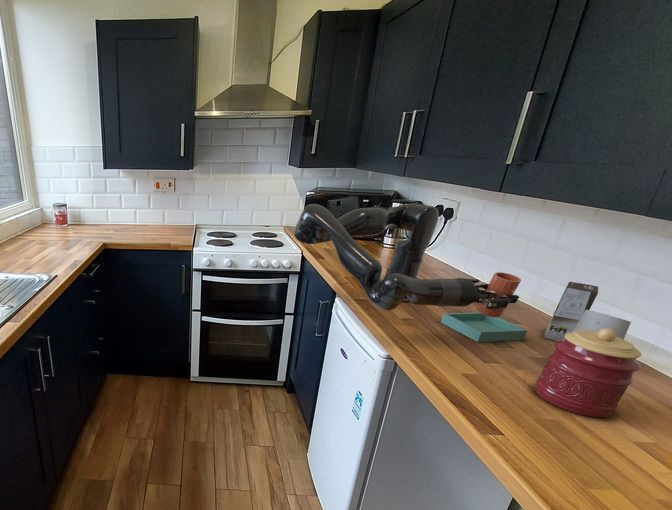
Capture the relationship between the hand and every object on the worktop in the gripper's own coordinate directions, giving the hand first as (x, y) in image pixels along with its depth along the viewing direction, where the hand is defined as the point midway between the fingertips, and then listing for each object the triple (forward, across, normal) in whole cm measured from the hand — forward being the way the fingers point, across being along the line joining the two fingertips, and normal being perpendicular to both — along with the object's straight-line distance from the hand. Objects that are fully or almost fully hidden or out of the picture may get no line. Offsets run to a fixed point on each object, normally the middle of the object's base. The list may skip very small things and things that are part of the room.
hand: (507, 293), depth 110 cm
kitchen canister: (-5, +31, -11) cm, 33 cm away
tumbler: (-2, 0, -6) cm, 6 cm away
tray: (+4, -5, -16) cm, 17 cm away
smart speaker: (+18, +13, -13) cm, 26 cm away
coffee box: (+25, -1, -15) cm, 29 cm away
